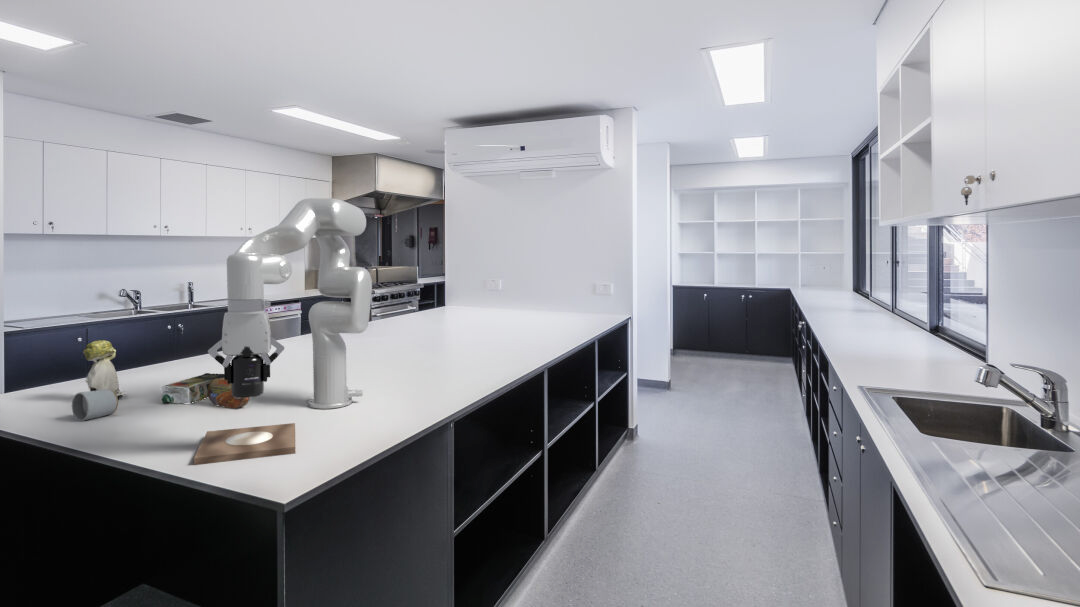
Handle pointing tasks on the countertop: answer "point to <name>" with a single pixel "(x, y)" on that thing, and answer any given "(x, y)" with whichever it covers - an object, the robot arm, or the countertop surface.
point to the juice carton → (188, 389)
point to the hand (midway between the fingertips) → (247, 381)
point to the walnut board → (246, 443)
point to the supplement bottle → (247, 374)
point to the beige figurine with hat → (102, 367)
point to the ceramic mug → (94, 404)
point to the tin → (224, 394)
